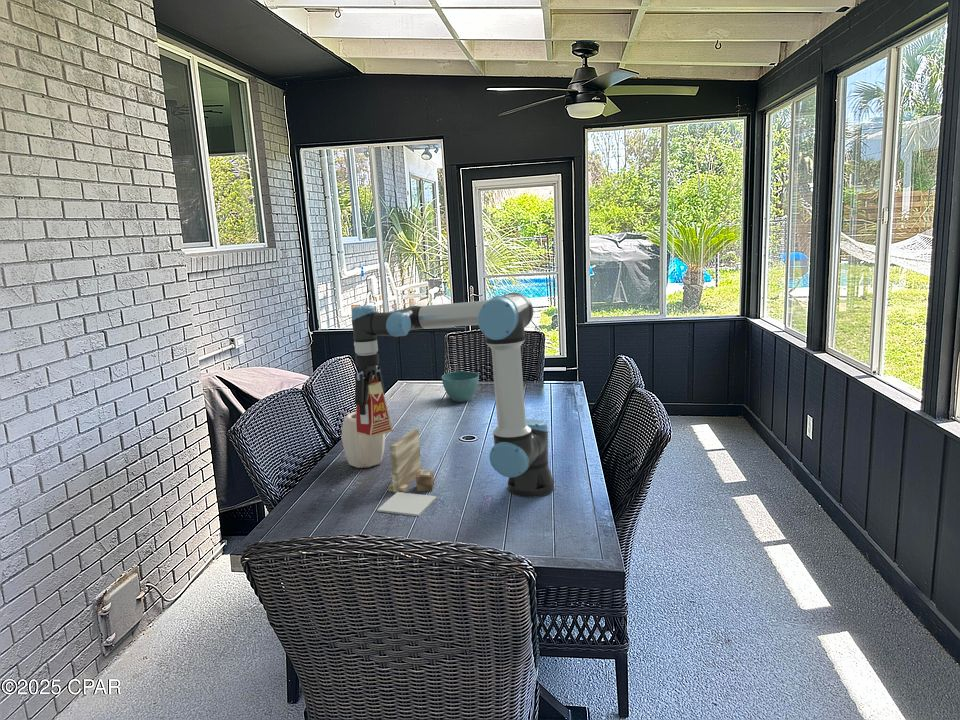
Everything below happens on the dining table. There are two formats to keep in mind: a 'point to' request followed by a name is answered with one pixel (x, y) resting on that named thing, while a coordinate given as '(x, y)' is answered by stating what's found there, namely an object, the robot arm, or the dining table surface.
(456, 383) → the teal bowl
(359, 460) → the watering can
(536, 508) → the dining table surface
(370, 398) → the milk carton
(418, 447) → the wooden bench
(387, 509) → the mat
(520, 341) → the robot arm
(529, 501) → the dining table surface
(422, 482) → the walnut cube
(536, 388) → the dining table surface
